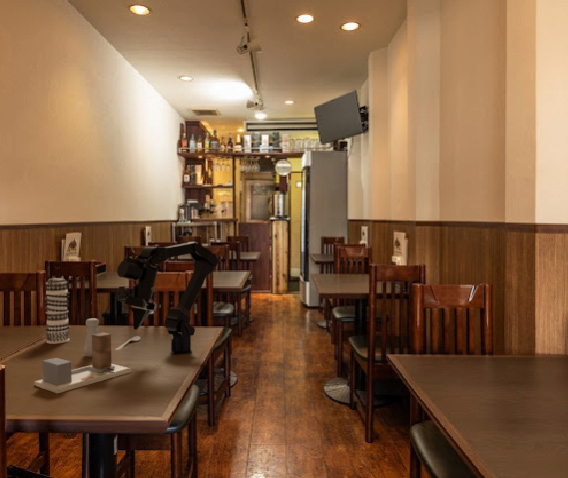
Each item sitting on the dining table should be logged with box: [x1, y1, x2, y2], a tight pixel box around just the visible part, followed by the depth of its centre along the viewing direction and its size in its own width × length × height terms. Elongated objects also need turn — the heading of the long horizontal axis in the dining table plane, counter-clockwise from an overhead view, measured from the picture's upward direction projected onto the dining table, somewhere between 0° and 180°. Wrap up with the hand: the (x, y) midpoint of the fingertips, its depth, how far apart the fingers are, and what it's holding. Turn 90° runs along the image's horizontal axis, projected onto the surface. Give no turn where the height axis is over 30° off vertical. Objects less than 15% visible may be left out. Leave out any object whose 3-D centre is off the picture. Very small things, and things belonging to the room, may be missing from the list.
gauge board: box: [34, 357, 131, 394], centre depth 152 cm, size 24×12×7 cm, turn 143°
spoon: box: [115, 335, 141, 351], centre depth 194 cm, size 4×21×2 cm, turn 170°
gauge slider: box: [89, 332, 115, 372], centre depth 155 cm, size 5×9×11 cm, turn 53°
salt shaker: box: [83, 317, 100, 358], centre depth 178 cm, size 6×6×13 cm
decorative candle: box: [44, 277, 71, 345], centre depth 201 cm, size 9×9×25 cm
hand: (135, 329), depth 167 cm, fingers closed
